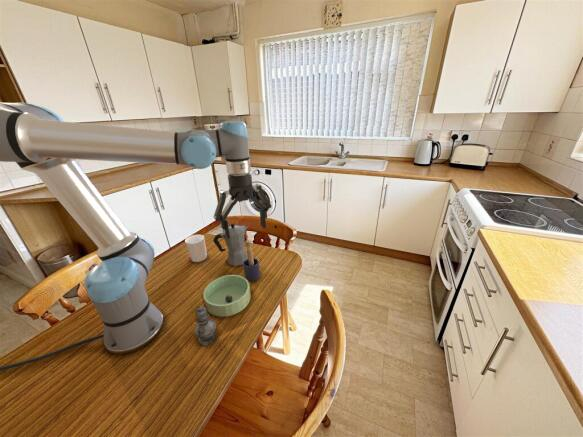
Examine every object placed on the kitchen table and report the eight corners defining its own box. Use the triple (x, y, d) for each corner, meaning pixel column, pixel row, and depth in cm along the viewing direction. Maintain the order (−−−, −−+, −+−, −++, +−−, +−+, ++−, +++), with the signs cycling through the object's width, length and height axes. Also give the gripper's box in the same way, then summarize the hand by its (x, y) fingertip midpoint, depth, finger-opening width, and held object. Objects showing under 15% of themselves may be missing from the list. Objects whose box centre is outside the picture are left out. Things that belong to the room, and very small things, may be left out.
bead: (225, 298, 79) (223, 296, 81) (227, 304, 80) (225, 302, 82) (231, 294, 80) (229, 292, 82) (234, 300, 81) (232, 298, 83)
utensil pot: (248, 284, 90) (246, 269, 87) (242, 275, 95) (240, 261, 92) (262, 278, 93) (261, 263, 90) (256, 270, 98) (254, 256, 95)
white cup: (212, 256, 108) (208, 237, 104) (197, 265, 102) (192, 245, 98) (200, 251, 112) (196, 232, 108) (186, 260, 106) (181, 240, 102)
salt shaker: (211, 347, 67) (203, 316, 62) (193, 344, 68) (183, 313, 63) (221, 330, 72) (214, 299, 67) (203, 327, 73) (195, 297, 68)
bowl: (212, 325, 74) (209, 313, 71) (201, 295, 85) (198, 284, 83) (257, 304, 81) (256, 293, 78) (241, 280, 92) (240, 269, 90)
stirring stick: (251, 278, 92) (246, 243, 86) (249, 275, 94) (244, 240, 87) (256, 276, 93) (252, 241, 87) (254, 273, 95) (249, 239, 88)
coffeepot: (246, 250, 112) (241, 215, 104) (256, 259, 105) (252, 222, 97) (214, 263, 103) (207, 226, 95) (223, 274, 96) (216, 235, 89)
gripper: (202, 182, 68) (214, 246, 76) (278, 169, 79) (281, 226, 88) (196, 176, 73) (208, 236, 82) (268, 165, 85) (272, 219, 94)
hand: (246, 231), depth 85 cm, fingers open, 13 cm apart
